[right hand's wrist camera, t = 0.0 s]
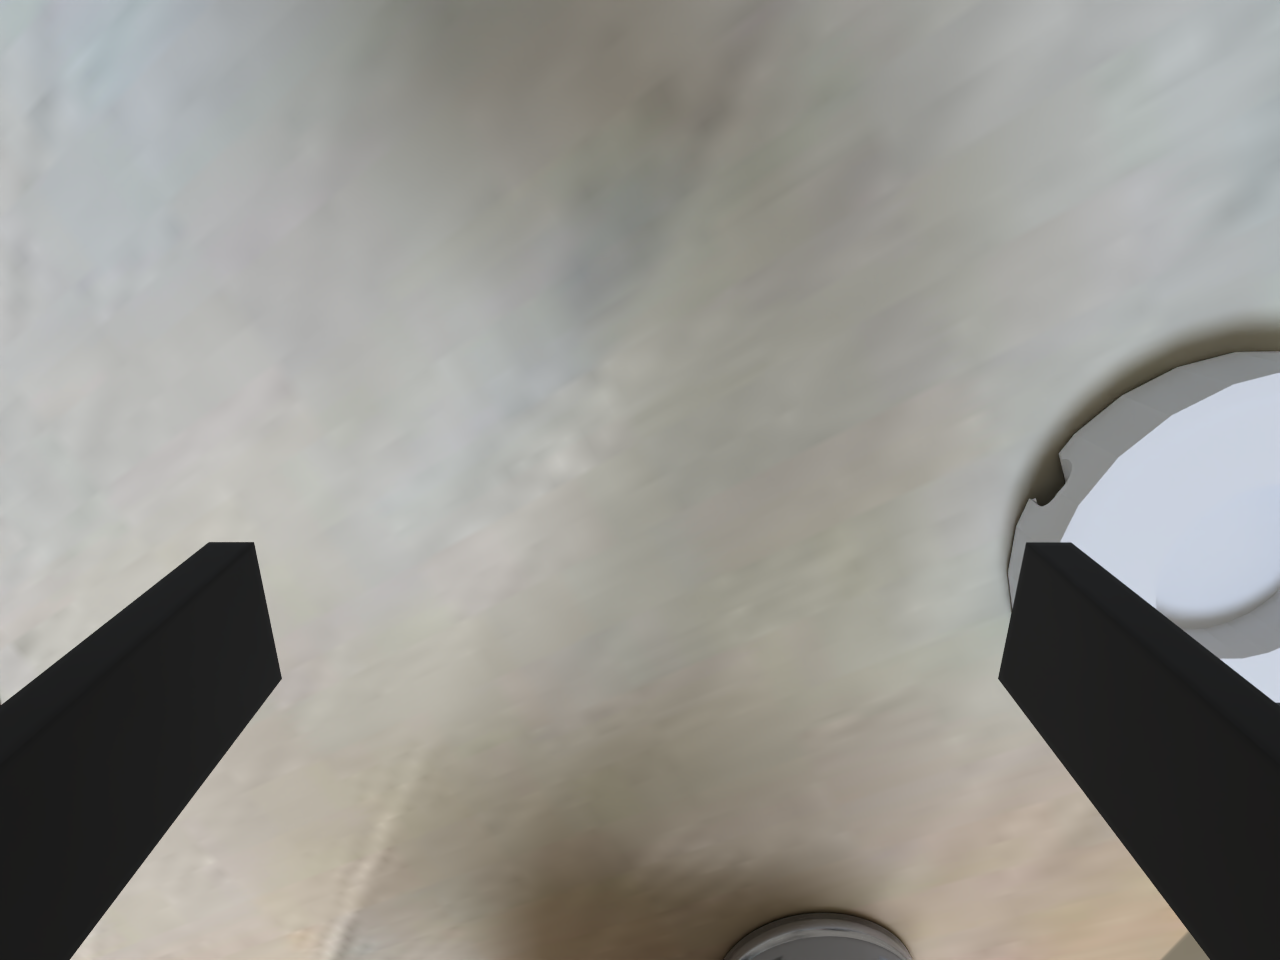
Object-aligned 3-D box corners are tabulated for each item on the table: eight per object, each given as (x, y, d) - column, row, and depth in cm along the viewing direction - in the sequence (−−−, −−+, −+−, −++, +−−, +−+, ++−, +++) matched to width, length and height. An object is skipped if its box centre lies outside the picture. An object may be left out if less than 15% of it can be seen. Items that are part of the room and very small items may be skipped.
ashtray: (1406, 278, 38) (1491, 287, 34) (1428, 635, 45) (1500, 674, 41) (964, 448, 41) (997, 473, 37) (1053, 755, 48) (1088, 801, 45)
